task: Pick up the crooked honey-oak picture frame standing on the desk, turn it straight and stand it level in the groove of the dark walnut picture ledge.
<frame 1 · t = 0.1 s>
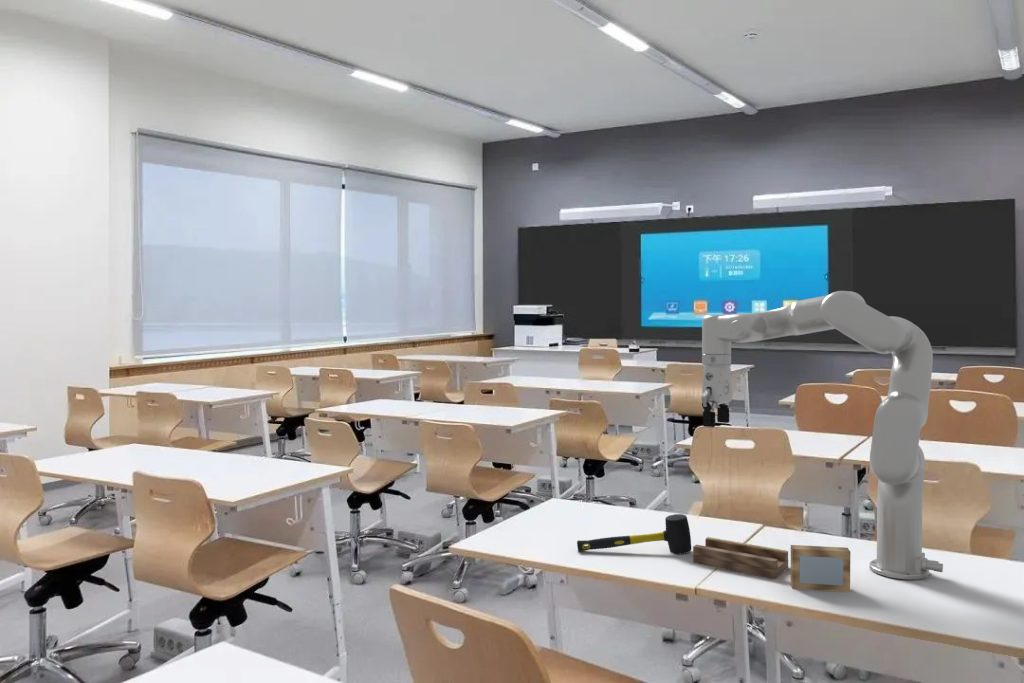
hand: (716, 424, 211), 31 cm above the table, fingers open, 9 cm apart
mallet: (634, 553, 202), on the table
picture frame: (819, 588, 175), on the table
picture ledge: (740, 565, 191), on the table
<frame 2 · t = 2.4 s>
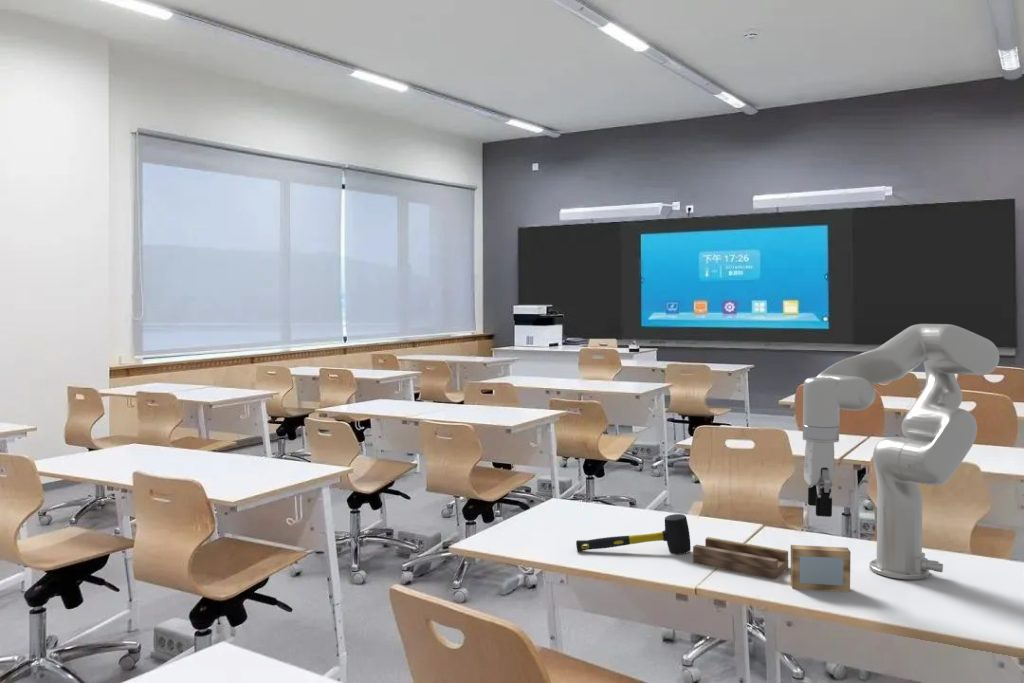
hand: (819, 510, 174), 17 cm above the table, fingers open, 9 cm apart
nothing on the table moved.
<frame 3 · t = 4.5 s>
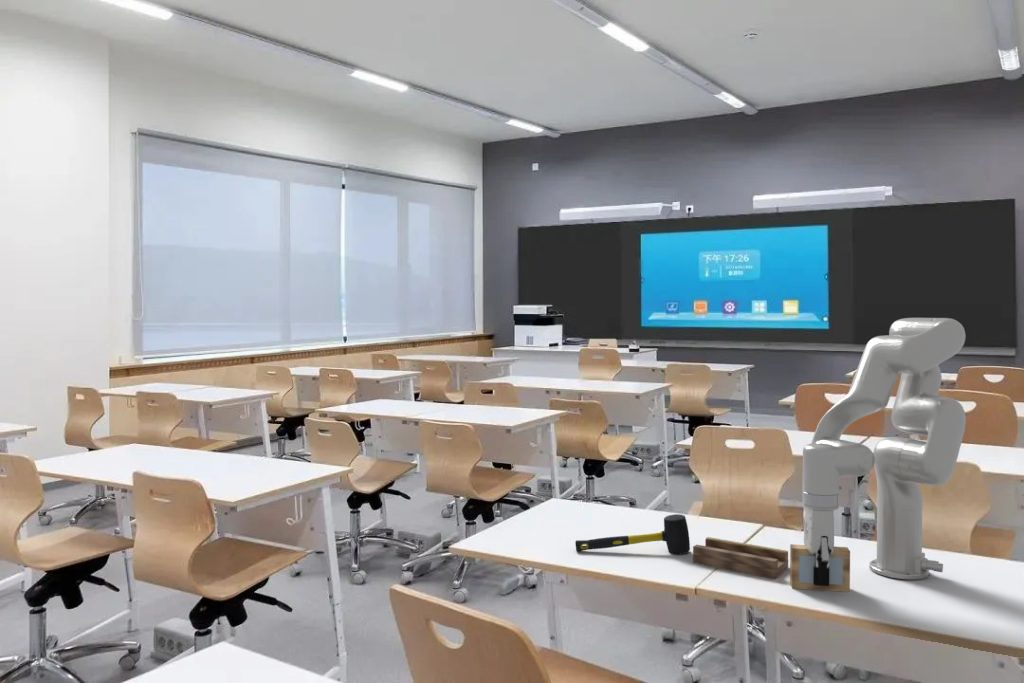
hand: (819, 581, 175), 1 cm above the table, fingers closed on picture frame, 3 cm apart
picture frame: (819, 587, 175), on the table, touching gripper
everything else where it was.
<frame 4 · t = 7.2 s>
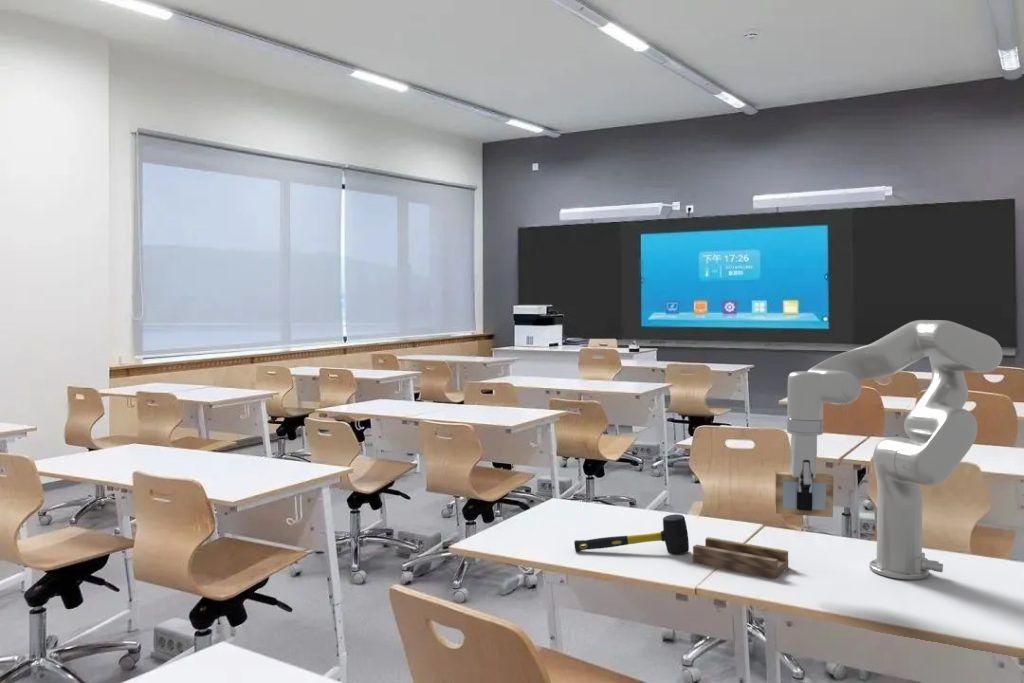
hand: (803, 507, 177), 17 cm above the table, fingers closed on picture frame, 3 cm apart
picture frame: (803, 513, 177), point 16 cm above the table, touching gripper
everything else where it was.
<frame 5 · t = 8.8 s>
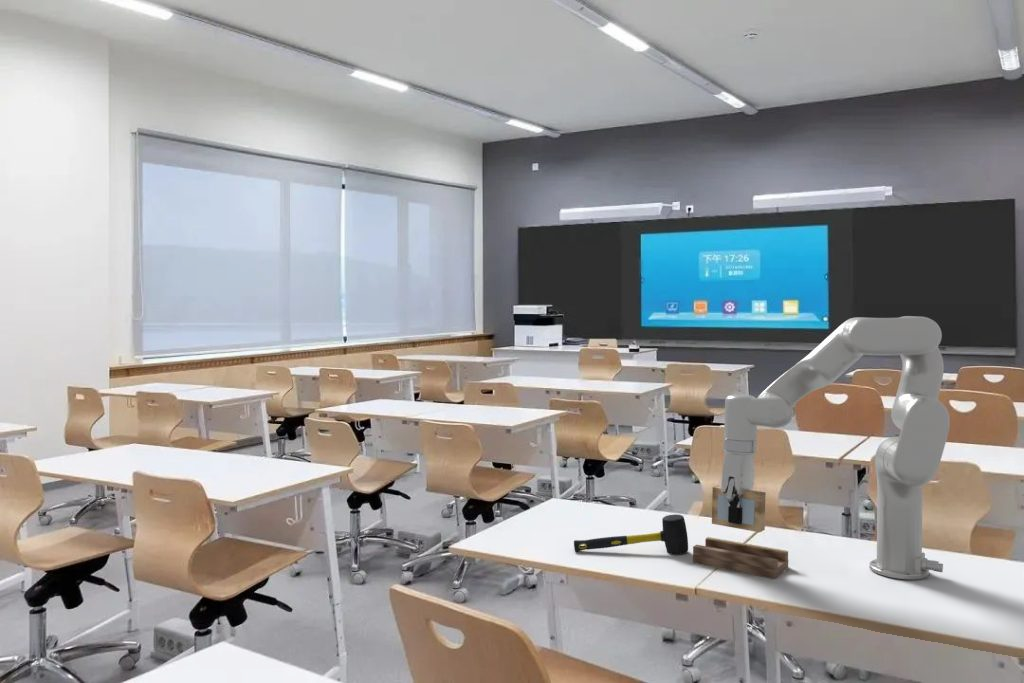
hand: (738, 520, 190), 11 cm above the table, fingers closed on picture frame, 3 cm apart
picture frame: (737, 526, 190), point 9 cm above the table, touching gripper
everything else where it was.
when the fingers open (5 cm above the table, at t = 10.1 s): picture frame drops 1 cm, resting on picture ledge.
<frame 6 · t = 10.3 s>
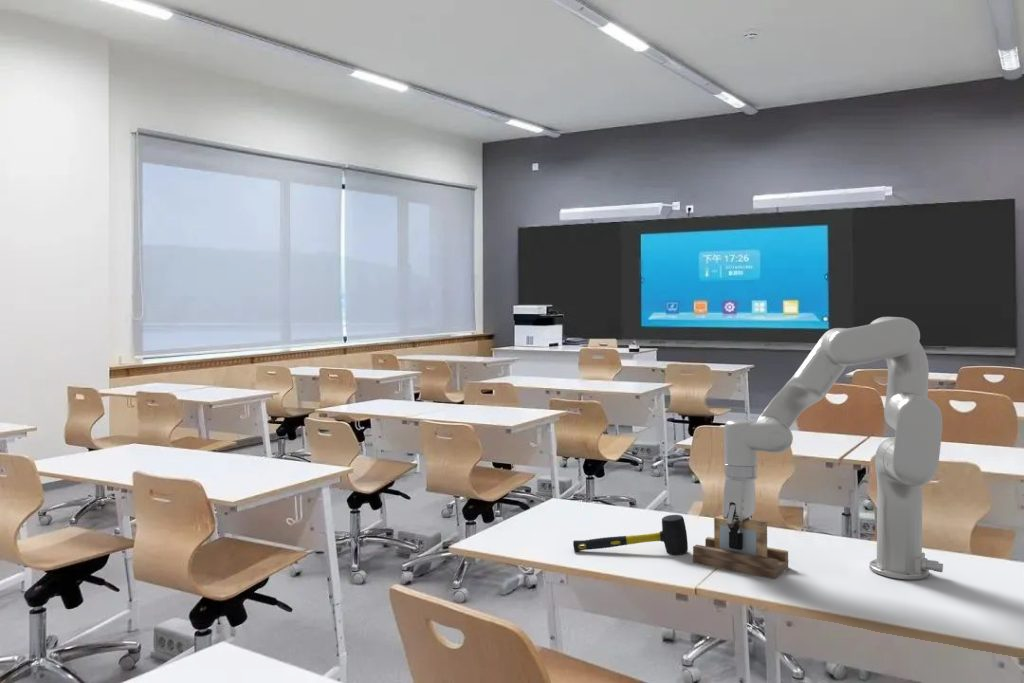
hand: (740, 545, 190), 5 cm above the table, fingers open, 5 cm apart
picture frame: (740, 556, 191), point 2 cm above the table, touching picture ledge
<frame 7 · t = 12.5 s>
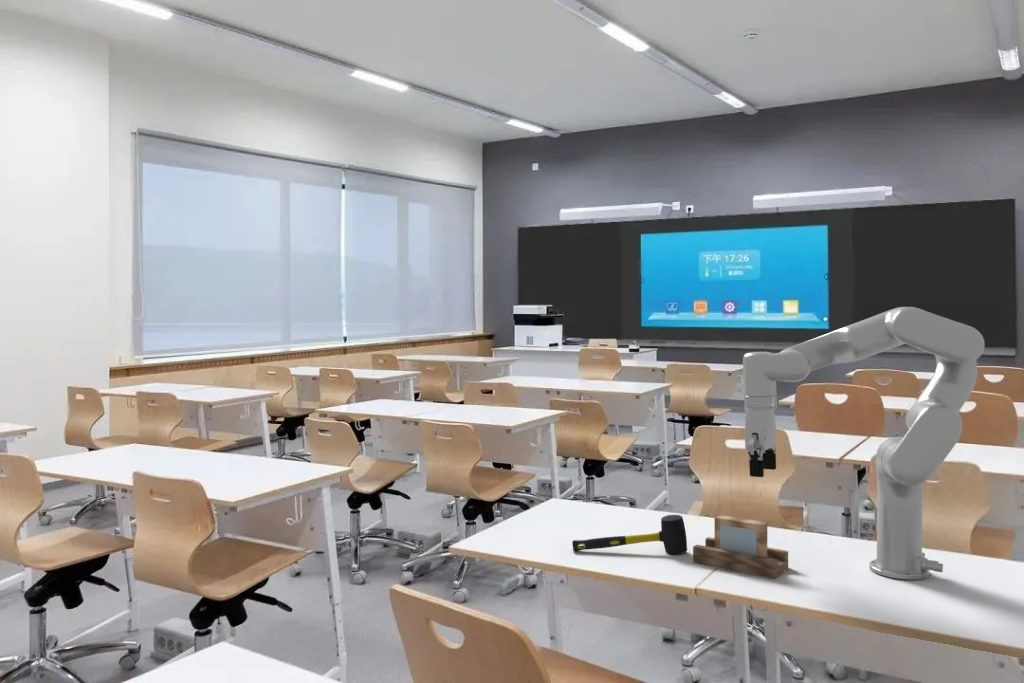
hand: (763, 472, 191), 22 cm above the table, fingers open, 9 cm apart
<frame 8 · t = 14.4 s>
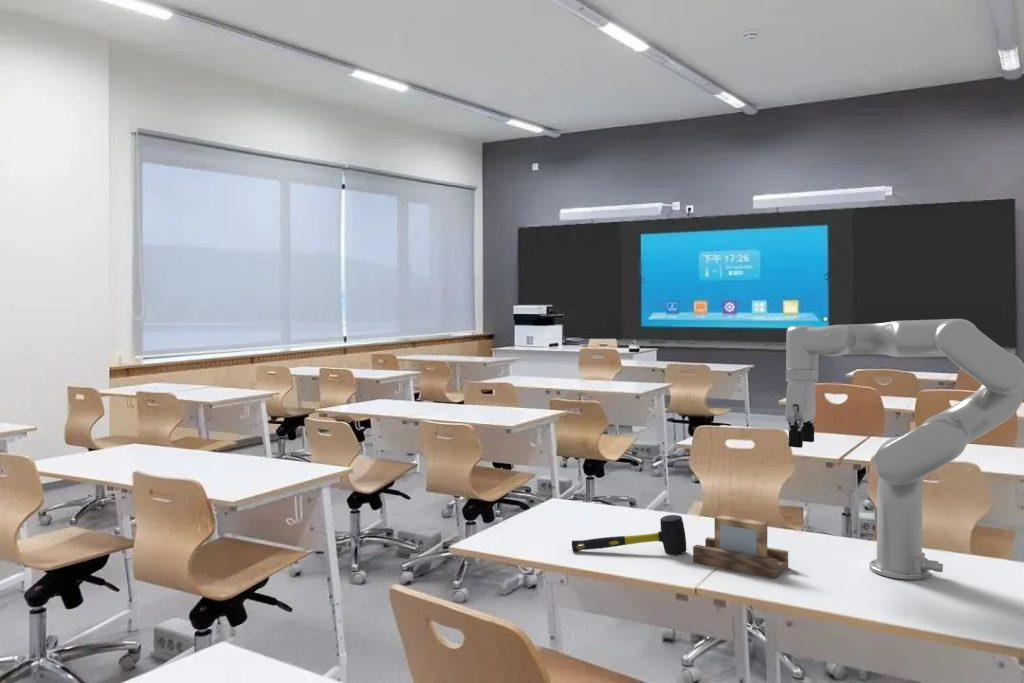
hand: (801, 444, 196), 28 cm above the table, fingers open, 9 cm apart
at the end: picture frame inside the target area on the picture ledge (0.2 cm from its centre), point 2.0 cm above the picture ledge's base; picture frame tilted 0°; the gripper is holding nothing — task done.
